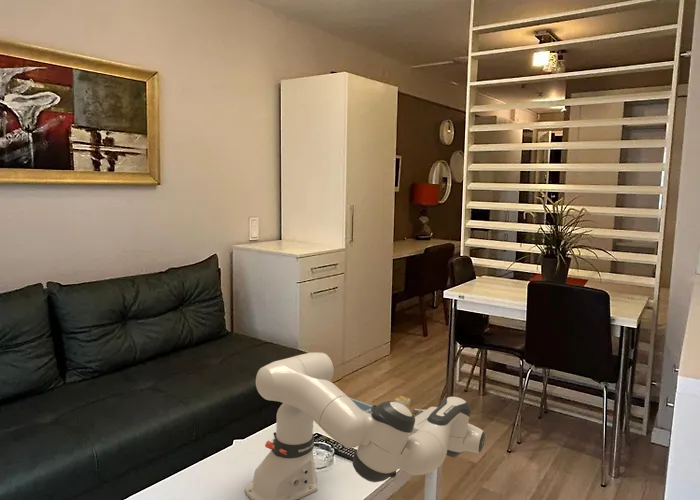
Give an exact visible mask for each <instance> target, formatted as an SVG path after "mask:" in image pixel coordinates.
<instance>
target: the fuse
mask: <svg viewBox="0 0 700 500" xmlns="http://www.w3.org/2000/svg"><path fill="white" fill-rule="evenodd" d="M394 401H395V402H398V403H401V404H403V405H404V406H406V407H407V408H408V409H409V410H410V408H411V407H410V406H411V398H409V397H406V396H402V395H400V396H397V397H396V398H394ZM410 411H411V410H410Z"/></svg>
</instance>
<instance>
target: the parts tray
mask: <svg viewBox="0 0 700 500" xmlns="http://www.w3.org/2000/svg"><path fill="white" fill-rule="evenodd" d="M348 397H349V396H348ZM349 398H350V399H351V400H352V401H353V402H354V403H355V404H356V405H357V406H358V407H359V408H360V409H361V410H363V411H364V412H366V413H370V414H372V413H373V412H372V411H371V407H372V406H373V405H371V404H369V403H366V402H363V401H360V400H357V399H355V398H352V397H349Z"/></svg>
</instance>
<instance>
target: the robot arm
mask: <svg viewBox="0 0 700 500" xmlns="http://www.w3.org/2000/svg"><path fill="white" fill-rule="evenodd" d="M334 369H335V368H334V364H333V360H331V357H330V356H329V355H328V354H327V353H324V352H318V351H317V352H306V353H303V354H302V353H301V354H298V355H294V356H290V357H287V358H283V359H279V360H275V361H272V362H270V363H268V364H266V365H264V366H262V367H260V368H259V369H258V371H257V373H256V377H255V387H256V390H257V392H258V394H259V395H260V396H261V397H262V398H263V399H264V400H267V401H273V402H278V403H279V402H280V403H282V404H281V405H280V406H279V408H277V412H276V428H275V429H276V430H275V432H276V435H275V438H274V439H273V441H272V442H271V441H270V440H267V441H266V442H265V445H264V447H265V448H267V449H269V450H270V451H269V453H267V455H266V456H265V457H264V458H263V460H262V461H261V462H260V464H259V465H258V466H257V467H256V469H255V471H254V475H253V479H252V481H250V482H249V483H248V484H247V485H246V486H245V487H244V492H245V494H246V496H247V497H248V498H249V499H251V500H299V499H301V498H304V497H306V496H308V495H310V494H312V493H315V492H317V491H318V484H317V480H318V477H317V473H316V468H315V459H314V458H315V457H314V448H315V436H314V432H313V430H314V422H315V423H316V424H317V426H318V427H319V428H321V430H322V431H324V433H326V434H327V435H328V436H329V437H330V438H332V439H333V440H334V441H335V442H336V443H339V444H341V445H342V446H343V447H345V448H347V449H348V448H350V449H351V448H353V449H355V448H357V449H356V450H355V451H354V454H353V459H352V466H353V469H354V470H355V472H356V474H357V475H359V476H360V477H361V478H362V479H364V480H366V481H368V482H369V483H379V482H383V481H386V480H387V479H389V478H391V479H394V478H395V477H396V476H397V471H398V470H403V471H405V472H406V474H410V475H412V476H422V475H423V476H424V475H426V474H430V473H432V472H434V471H435V470H437V469H439V468H440V467H441V466H442V464H443V463H444V461H445V459H446V456H448V457H451V458H456V457H458V456H459V455H462V454H463V453H464V452H470V453H475V454H479V453H481V452H482V451H483V448H484V445H485V440H486V439H485V438H486V435H485V434H486V433H485V430H483V429H481V428H480V427H477V426H476V425H473V424H471V423H469V420H470V417H471V413H472V408H471V406H470V404H469V403H468V401H467V400H465V399H464V398H461V397H458V396H446V397H445V398H443V399H442V400H441V401H440V404H439V406H430V407H428V408H427V409H420V408H419V409H418V408H414V409H413V410H412V411H411V410H409V409H408V408H407V407H406V406H404V405H403V404H401V403H398V402H395V400H394V401H393V400H387V401H383V402H380V403H379V404H378V405H376V404H373V405H372V407H371V411H372V412H373V413H372V414H370V413H366V412H364V411H363V410H361V409H360V408H359V407H358V406H357V405H356V404H355V403H354V402H353V401H352V400H351V399H350V398H351V397H350V398H349V396H348V395H347V394H346V393H345V392H344V391H342V390H341V389H340V388H339V387H338V386H337V385H336V384H334V383H333V382H332V379H333V376H334V372H335V371H334Z"/></svg>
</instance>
